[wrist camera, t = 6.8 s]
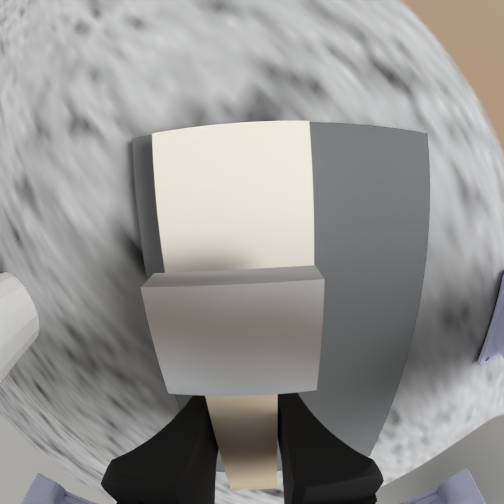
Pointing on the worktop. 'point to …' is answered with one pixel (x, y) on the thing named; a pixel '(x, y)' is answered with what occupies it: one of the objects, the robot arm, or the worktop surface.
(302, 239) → the tile
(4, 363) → the white cup
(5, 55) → the worktop surface
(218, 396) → the turner
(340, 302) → the mat
